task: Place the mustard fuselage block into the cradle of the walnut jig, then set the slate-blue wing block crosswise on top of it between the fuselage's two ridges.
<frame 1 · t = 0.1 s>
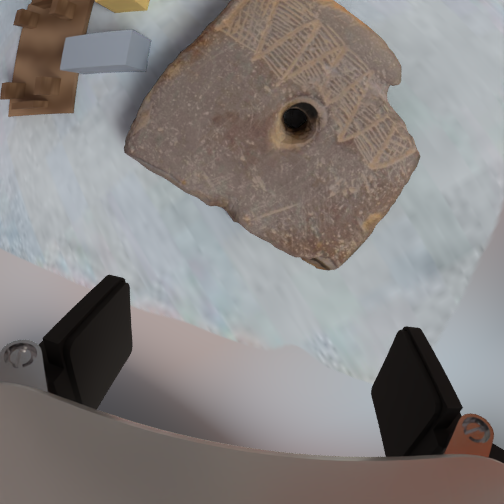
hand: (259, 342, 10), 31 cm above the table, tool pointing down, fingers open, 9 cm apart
wing: (116, 57, 35), on the table
jig: (48, 52, 34), on the table
stone slab: (290, 114, 37), on the table
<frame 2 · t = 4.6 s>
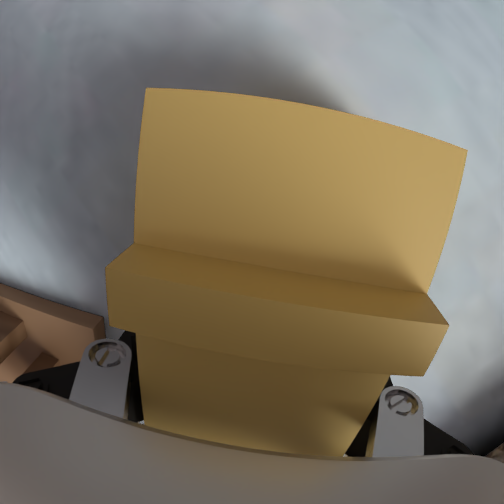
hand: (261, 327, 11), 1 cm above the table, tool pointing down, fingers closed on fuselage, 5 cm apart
jig: (39, 406, 17), on the table
fuselage: (263, 311, 12), on the table, touching gripper
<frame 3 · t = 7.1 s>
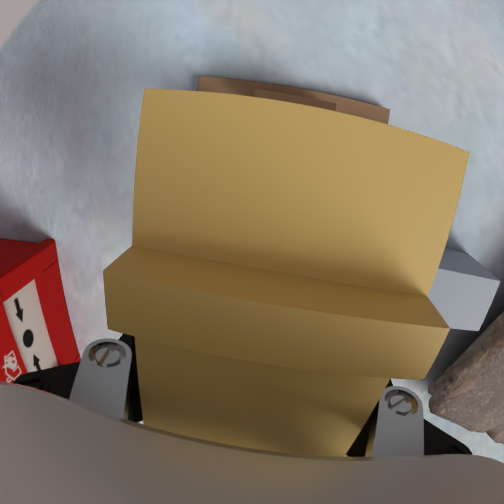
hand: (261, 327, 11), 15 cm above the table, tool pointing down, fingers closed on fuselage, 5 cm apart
wing: (415, 266, 26), on the table
jig: (274, 217, 25), on the table
fire alarm: (38, 301, 32), on the table
fuselage: (263, 313, 12), point 14 cm above the table, touching gripper
when the fingers open (3 cm above the table, at t = 9.6 s): fuselage drops 1 cm, resting on jig.
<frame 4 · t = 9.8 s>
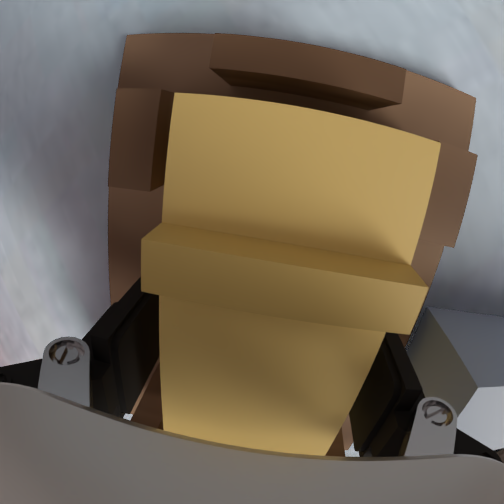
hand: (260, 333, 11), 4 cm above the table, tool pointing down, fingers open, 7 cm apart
wing: (478, 347, 15), on the table
jig: (266, 286, 14), on the table
fuselage: (267, 297, 13), point 1 cm above the table, touching jig
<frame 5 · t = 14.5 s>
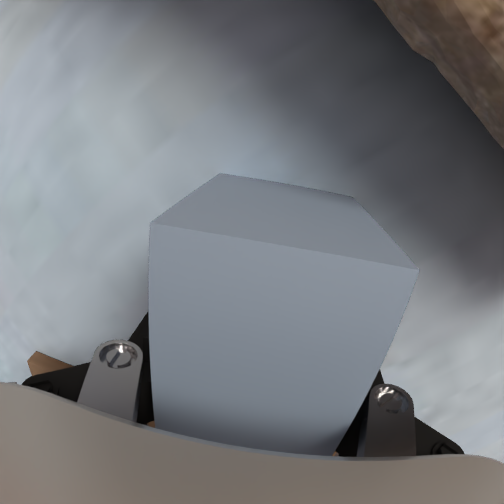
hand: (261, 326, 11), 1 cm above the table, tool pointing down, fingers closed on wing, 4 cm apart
wing: (262, 313, 12), on the table, touching gripper
jig: (196, 468, 17), on the table
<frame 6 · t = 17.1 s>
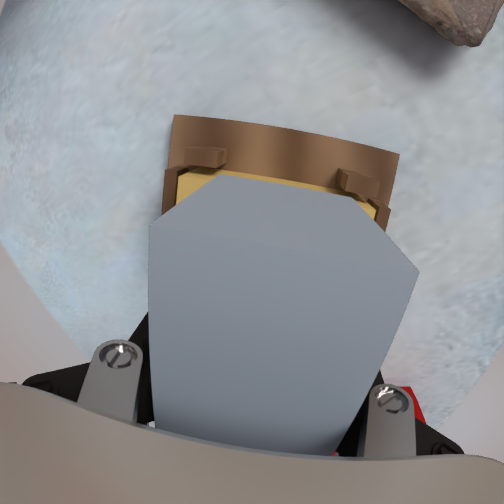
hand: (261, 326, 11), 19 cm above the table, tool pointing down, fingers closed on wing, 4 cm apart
wing: (262, 314, 12), point 18 cm above the table, touching gripper
jig: (275, 205, 29), on the table
fuselage: (274, 206, 28), point 1 cm above the table, touching jig
when the fingers open (10 cm above the table, at t = 19.6 s): wing drops 2 cm, resting on fuselage.
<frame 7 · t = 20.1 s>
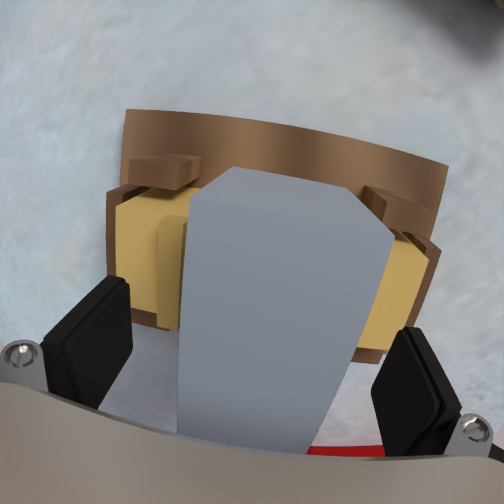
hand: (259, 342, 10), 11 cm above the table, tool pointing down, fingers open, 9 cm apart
wing: (267, 291, 14), point 7 cm above the table, touching fuselage
jig: (272, 237, 21), on the table
fire alarm: (352, 466, 30), on the table
fuselage: (270, 240, 20), point 1 cm above the table, touching jig, wing
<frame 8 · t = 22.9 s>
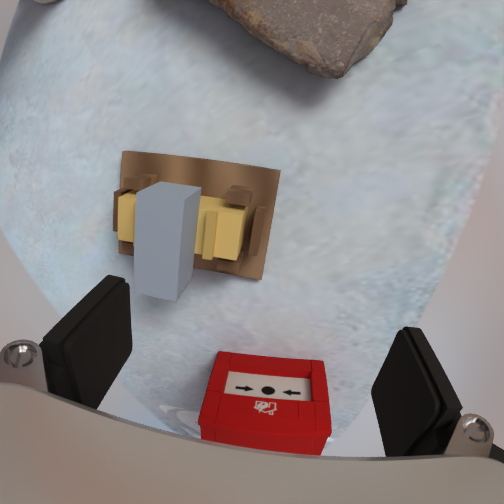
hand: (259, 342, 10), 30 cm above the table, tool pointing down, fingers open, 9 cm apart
wing: (176, 230, 34), point 7 cm above the table, touching fuselage
jig: (192, 212, 41), on the table
fire alarm: (268, 378, 50), on the table
fuselage: (190, 213, 40), point 1 cm above the table, touching jig, wing
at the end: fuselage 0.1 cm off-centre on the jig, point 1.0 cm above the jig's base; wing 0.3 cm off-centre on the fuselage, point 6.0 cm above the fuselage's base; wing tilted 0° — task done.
